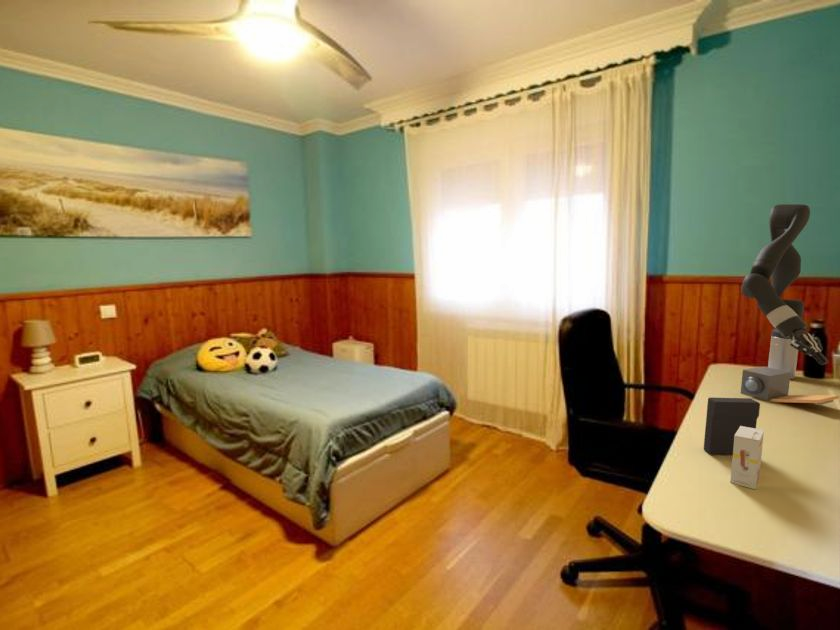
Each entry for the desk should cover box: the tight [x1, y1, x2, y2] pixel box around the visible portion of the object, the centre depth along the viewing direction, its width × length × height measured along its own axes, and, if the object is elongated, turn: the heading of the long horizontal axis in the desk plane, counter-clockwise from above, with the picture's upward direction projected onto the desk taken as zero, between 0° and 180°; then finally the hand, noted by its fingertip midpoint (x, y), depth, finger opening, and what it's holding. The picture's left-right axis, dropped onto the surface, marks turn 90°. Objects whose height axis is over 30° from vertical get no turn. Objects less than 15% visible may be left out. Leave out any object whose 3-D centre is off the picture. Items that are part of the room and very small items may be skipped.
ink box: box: [729, 426, 765, 490], centre depth 102 cm, size 9×5×12 cm, turn 136°
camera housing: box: [740, 365, 791, 402], centre depth 159 cm, size 14×9×10 cm, turn 112°
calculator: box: [703, 397, 761, 456], centre depth 115 cm, size 11×4×15 cm, turn 84°
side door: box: [769, 394, 840, 406], centre depth 149 cm, size 11×2×15 cm
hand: (824, 363), depth 142 cm, fingers closed
